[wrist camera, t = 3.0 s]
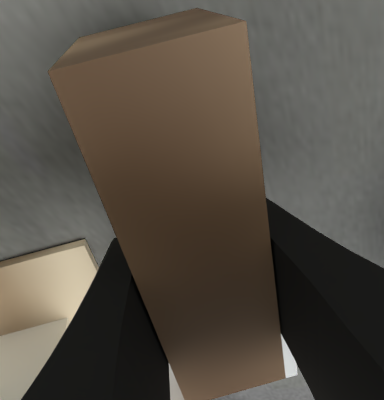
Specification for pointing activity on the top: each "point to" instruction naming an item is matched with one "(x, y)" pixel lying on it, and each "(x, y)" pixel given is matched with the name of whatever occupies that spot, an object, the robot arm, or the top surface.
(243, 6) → the top surface
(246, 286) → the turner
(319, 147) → the top surface
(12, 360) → the tile
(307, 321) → the robot arm
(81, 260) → the tan flat rectangular piece
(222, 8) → the top surface
